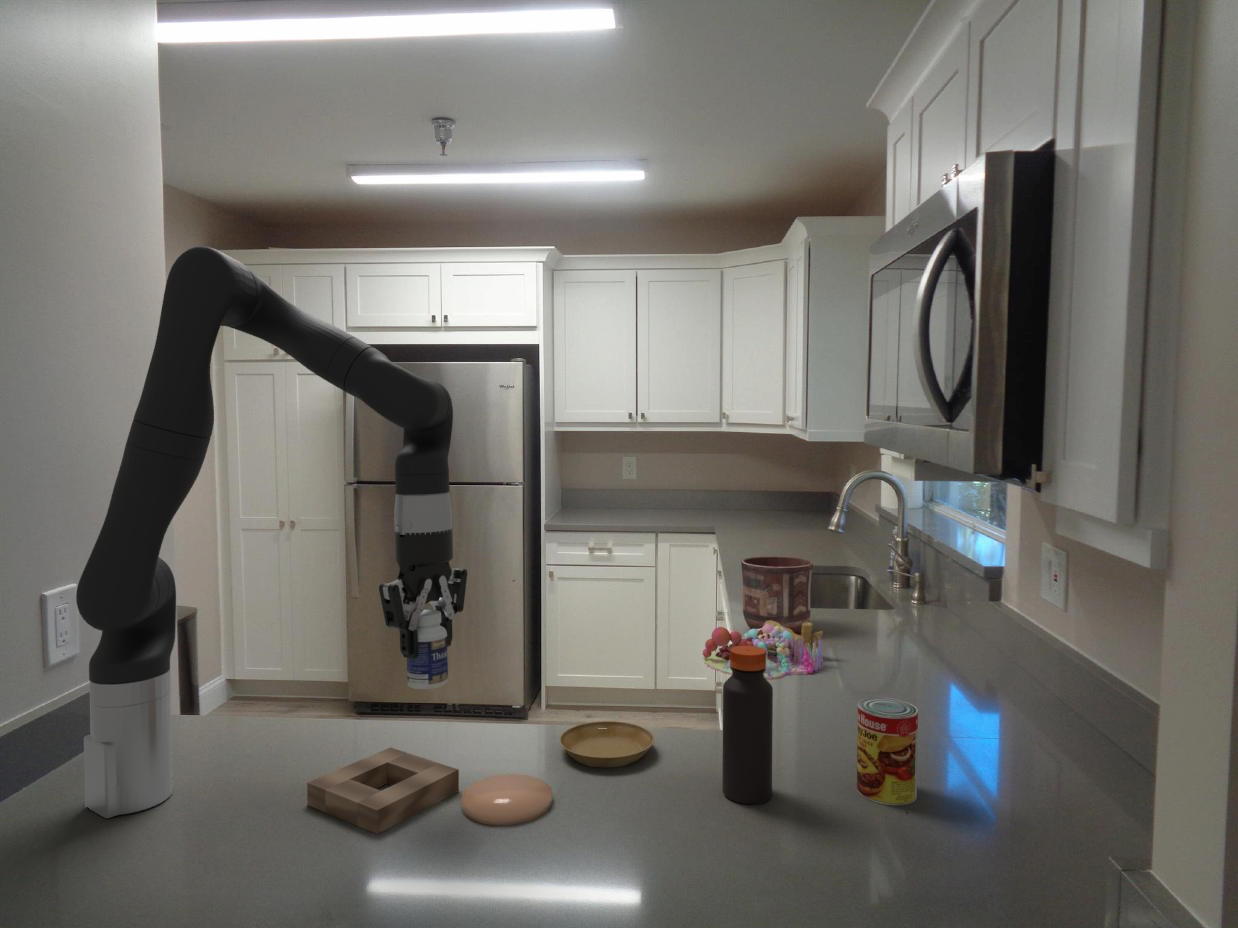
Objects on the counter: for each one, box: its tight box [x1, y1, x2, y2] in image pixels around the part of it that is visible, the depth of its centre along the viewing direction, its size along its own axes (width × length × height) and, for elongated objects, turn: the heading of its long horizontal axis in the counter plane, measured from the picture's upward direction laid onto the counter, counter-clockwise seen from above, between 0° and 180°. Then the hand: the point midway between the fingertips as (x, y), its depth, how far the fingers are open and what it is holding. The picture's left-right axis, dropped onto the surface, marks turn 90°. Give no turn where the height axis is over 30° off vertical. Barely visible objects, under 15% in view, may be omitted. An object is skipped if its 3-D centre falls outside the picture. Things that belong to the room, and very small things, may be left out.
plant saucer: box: [558, 720, 655, 769], centre depth 120 cm, size 15×15×3 cm
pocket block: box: [306, 747, 460, 835], centre depth 105 cm, size 14×14×3 cm
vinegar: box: [721, 646, 774, 805], centre depth 106 cm, size 7×7×20 cm
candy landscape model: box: [702, 620, 824, 681], centre depth 168 cm, size 25×24×9 cm
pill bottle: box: [406, 609, 449, 690], centre depth 104 cm, size 5×5×10 cm
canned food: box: [856, 696, 919, 807], centre depth 106 cm, size 8×8×12 cm
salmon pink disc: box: [461, 773, 553, 826], centre depth 103 cm, size 12×12×1 cm
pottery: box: [740, 555, 814, 635], centre depth 194 cm, size 18×18×18 cm
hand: (427, 651), depth 104 cm, fingers closed on pill bottle, 5 cm apart
